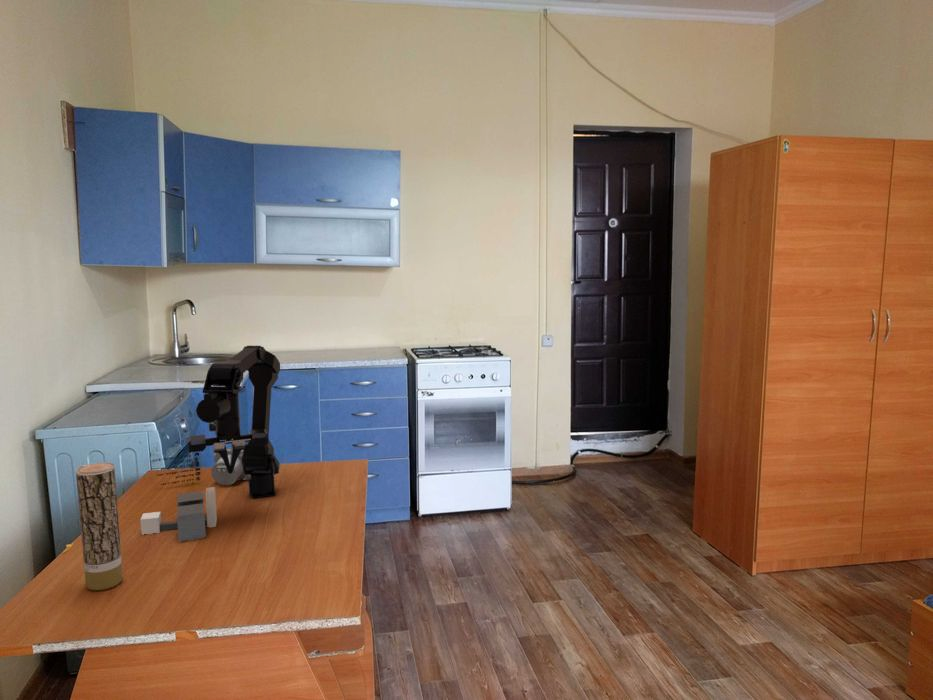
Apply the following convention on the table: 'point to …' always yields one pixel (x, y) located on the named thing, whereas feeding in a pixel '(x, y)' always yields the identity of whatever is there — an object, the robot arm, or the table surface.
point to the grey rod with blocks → (154, 525)
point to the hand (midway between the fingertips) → (230, 473)
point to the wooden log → (99, 525)
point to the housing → (190, 516)
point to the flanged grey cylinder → (217, 469)
